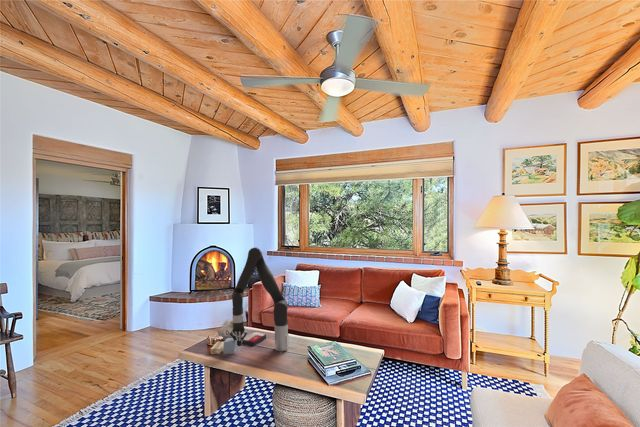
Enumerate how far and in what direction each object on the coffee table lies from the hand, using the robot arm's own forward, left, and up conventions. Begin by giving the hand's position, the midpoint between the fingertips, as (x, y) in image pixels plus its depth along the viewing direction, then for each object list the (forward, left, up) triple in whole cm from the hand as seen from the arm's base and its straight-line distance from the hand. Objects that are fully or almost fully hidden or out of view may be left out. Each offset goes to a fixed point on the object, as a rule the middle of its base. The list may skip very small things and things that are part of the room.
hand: (239, 345), depth 206 cm
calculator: (-5, -18, -5) cm, 20 cm away
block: (+6, 0, -4) cm, 7 cm away
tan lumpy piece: (+16, -2, -4) cm, 16 cm away
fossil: (+18, -22, -4) cm, 29 cm away
